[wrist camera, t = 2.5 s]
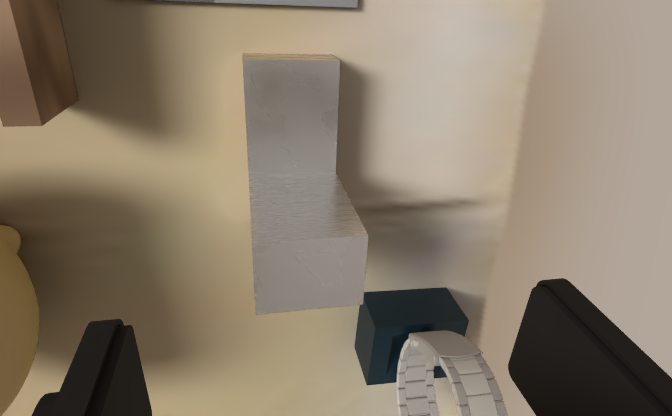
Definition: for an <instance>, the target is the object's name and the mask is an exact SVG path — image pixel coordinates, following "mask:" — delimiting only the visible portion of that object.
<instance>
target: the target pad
mask: <svg viewBox="0 0 672 416" xmlns="http://www.w3.org/2000/svg"><path fill="white" fill-rule="evenodd" d="M156 1H184V2H213V3H241V4H269V5H298V6H326V7H355V8H357V4H358V0H156Z"/></svg>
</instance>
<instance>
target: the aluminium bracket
mask: <svg viewBox="0 0 672 416" xmlns="http://www.w3.org/2000/svg"><path fill="white" fill-rule="evenodd" d="M242 57H243V76H244V95H245V114H246V133H247V152H248V170H249V190H250V211H251V231H252V251H253V270H254V288H255V307H256V315H257V314H268V313H278V312H289V311H299V310H309V309H320V308H330V307H341V306H351V305H362V304H363V298H364V285H365V273H366V261H367V248H368V234H367V232H366V230H365V228H364V226H363V224H362V222H361V220H360V218H359V216H358V214H357V212H356V210H355V209H354V207H353V205H352V203H351V201H350V199H349V197H348V195H347V193H346V191H345V189H344V187H343V185H342V183H341V181H340V180H339V178H338V176H337V174H336V152H337V128H338V103H339V78H340V60H338V59H337V58H336V57H334V56H333V55H331V54H261V53H242Z"/></svg>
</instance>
